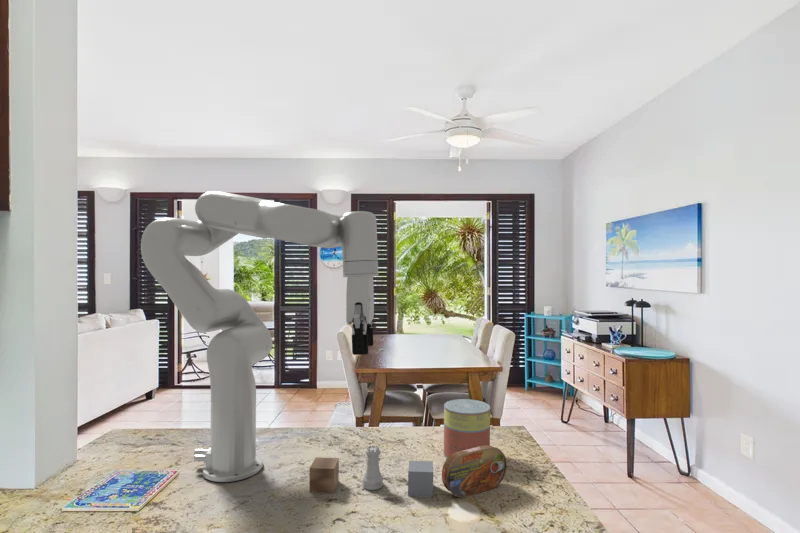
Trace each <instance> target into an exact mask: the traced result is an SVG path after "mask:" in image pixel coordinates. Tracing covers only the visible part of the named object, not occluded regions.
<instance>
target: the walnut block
mask: <svg viewBox="0 0 800 533" xmlns="http://www.w3.org/2000/svg"><path fill="white" fill-rule="evenodd" d="M339 462H340V459H339V457H317V456H316V457H315V458H314V459H313V461H312V463H311V465H310V466H309V488H308V489H309V490H308V492H309V493H316V494H317V493H321V494H323V493H324V494H335V490H336V489H337V486H338V484H339V481H340V480H339V478H340V477H339V476H340V475H339V473H340V469H339V468H340V465H339V464H340V463H339Z"/></svg>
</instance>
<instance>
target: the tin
mask: <svg viewBox="0 0 800 533" xmlns="http://www.w3.org/2000/svg"><path fill="white" fill-rule="evenodd" d="M445 459H446V458H445ZM507 467H508V466H507V458H506V456H505V454H504V452H503V451H502V450H501V449H500V448H497V447H495V446H492V445H490V446H489V445H483V446H479V447H475V448H471V449H467V450H463V451H458V452H455V453H453V454H451V455H450V456H449V457H448V458H447V459H446V460H445V461H444V462H443V466H442V467H441V468H442V469H441V470H442V471H441V479H442V484H443V486H444V488H445V489H446V490H447V491H448V492H450V494H452V495H453V496H455V497H457V498H460V499H461V498H467V497H471V496H473V495H476V494H479V493H482V492H486V491H490V490H493V489H495V488H497V487H498V486H500V484H501V483H502V482H503V480H504V478H505V476H506V472H507Z"/></svg>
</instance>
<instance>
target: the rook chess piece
mask: <svg viewBox="0 0 800 533" xmlns="http://www.w3.org/2000/svg"><path fill="white" fill-rule="evenodd" d="M371 446H372V447H371ZM364 453H365V454H366V470H365V472H364V475H363V477H362V487H363V488H364V489H365V490H367V491H378V490H380V489H381V488H382V487H383V485H384V482H383V481H384V477H383V475H382V473H381V471H380V465H379V464H380V462H379V461H380V460H381V459H380V458H379V456H380V455H381V453H382V452H381V450H380V447H379V445H375V444H374V445H368V446H367V447H366V450H365V452H364Z"/></svg>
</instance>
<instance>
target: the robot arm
mask: <svg viewBox="0 0 800 533" xmlns="http://www.w3.org/2000/svg"><path fill="white" fill-rule="evenodd" d="M194 211H195V215H196V217H197V219H198V220H197V221H196V220H189V219H184V218H178V217H163V218H159V219H155V220H152V222H150V223H149V224H148V225H147V226H146V228H145V229H144V230H143V233H142V236H141V239H140V240H141V241H140V253H141V258H142V260H143V263H144V265H145V267H146V269H147V270H148V271H149V273H150V274H151V276H152V277H153V278H154V279H155V281H156V282H158V284H159V285H160V287H161V288H163V290H164V291H165V293H166V294H167V296H168V297H169V299H170V301H172V303H173V304H174V306H175V307H176V308H177V310H178V311H179V313H180V314H181V315H182V316H183V318H184V319H185V321H186V322H187V323H188V325H189V326H190V327H191V328H192V329H194V331H195V332H196V331H197V332H198V333H199V332H200V333H210V332H215V331H219V330H221V331H219V332H218V333H217V334H215V335H214V337H213V336H212V339H211V340H210V341H209V343H208V345H207V348H206V362H207V363H206V364H207V368H208V374H209V382H210V445H209V446H210V447H209V448H195V449H194V452H193V456H194V457H193V458H194V459H193V461H194V462H204V463H205V464H204V466H203V467H202V477H204V478H205V479H206V480H208V481H211V482H215V483H216V482H217V483H229V482H231V483H232V482H237V481H241V480H244V479H247V478H250V477H252V476H254V475H256V474H257V473H260V471H261V470H262V469H263V460H264V459H263V458H262V457H261V456H259V455H258V454H256V450H257V449H256V448H257V444H256V443H257V441H256V439H257V432H256V431H257V429H256V428H257V385H256V379H255V375H254V373H253V365H255V364H256V363H259V362H261V361H263V360H264V359H266V358H267V357H268V356H269V355H270V353H271V351H272V348H273V338H272V334H271V333H270V330H269V329H268V327H267V326H266V324H265V323H264V322H263V321H262V319H261V318H260V317H259V315H258V313H257V312H256V311H255V310H254V308H252V307H253V306H251V304H250V303H249V302H248V301H247V300H246V298H245V297H244V296H243V295H241V294H240V293H239V292H238V291H235V290H233V289H229V288H220V289H217V288H216V287H215V288H214V286H212V284H210V282H209V281H208V280H207V279H206V277H205V276H204V274H203V273H202V271H201V270H200V269H199V268H198V267H197V266H196V265H194V263H192V262H191V261H190V260H188V259H187V258H186V257H187V256H188V257H202V256H205V255H207V254H209V253H211V252H213V251H215V250H217V248H219V247H221V246H222V245H224V244H225V243H227V242H229V240H231V239H233V238H234V237H235V236H237V235H238V234H242V235H246V236H250V237H251V236H252V237H256V238H261V239H274V240H279V241H284V242H289V243H294V244H299V245H304V246H309V247H314V248H315V247H316V248H322V249H334V248H338V247H339V248H340V247H341V252H342V277H343V278H347V280H346V292H345V293H346V294H345V295H346V296H345V297H346V298H345V299H346V304H345V305H346V306H345V307H346V308H345V310H346V314H345V315H346V317H345V319H346V323H347V325H351V324H352V328H351V348H352V349H351V350H352V353H351V354H352V355H354V356H357V355H359V356H360V355H368V354H369V347H373V346H374V327H373V324H372V323H373V320H374V318H375V317H374V314H375V295H374V289H375V288H374V287H375V286H374V277H378V276H379V259H378V257H379V255H378V232H377V231H378V226H377V217H376V215H375V214H374V213H373V212H371V211H365V210H362V211H361V210H360V211H359V210H356V211H349V212H345V213H344V214H343V215H336V214H332V213H329V212H326V211H324V210H320V209H316V208H310V207H304V206H299V205H294V204H287V203H282V202H278V201H277V202H276V201H273V200H269V199H265V198H259V197H254V196H248V195H242V194H237V193H232V192H225V191H221V190H220V191H218V190H211V191H207V192H206V191H205V193H202V194H201V195H200V196H199V197H198V198H197V200H196V202H195V207H194Z"/></svg>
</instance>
